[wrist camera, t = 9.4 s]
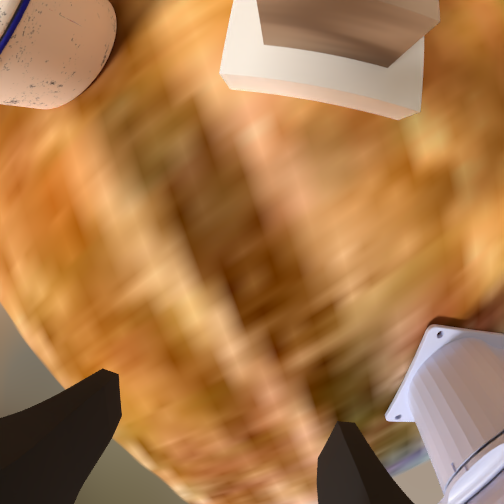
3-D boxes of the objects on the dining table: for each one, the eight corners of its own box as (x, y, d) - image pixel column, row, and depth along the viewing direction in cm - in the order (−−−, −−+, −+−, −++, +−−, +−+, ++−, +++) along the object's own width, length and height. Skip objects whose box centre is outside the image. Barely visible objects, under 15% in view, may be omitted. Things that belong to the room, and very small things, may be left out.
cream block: (401, -8, 13) (421, -34, 9) (395, 121, 15) (420, 112, 12) (255, -36, 13) (249, -68, 10) (231, 90, 16) (219, 73, 12)
